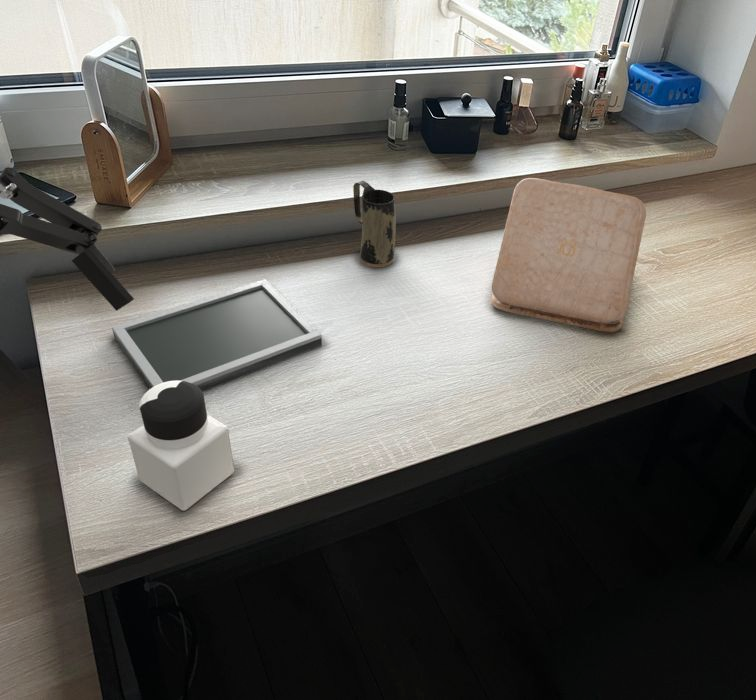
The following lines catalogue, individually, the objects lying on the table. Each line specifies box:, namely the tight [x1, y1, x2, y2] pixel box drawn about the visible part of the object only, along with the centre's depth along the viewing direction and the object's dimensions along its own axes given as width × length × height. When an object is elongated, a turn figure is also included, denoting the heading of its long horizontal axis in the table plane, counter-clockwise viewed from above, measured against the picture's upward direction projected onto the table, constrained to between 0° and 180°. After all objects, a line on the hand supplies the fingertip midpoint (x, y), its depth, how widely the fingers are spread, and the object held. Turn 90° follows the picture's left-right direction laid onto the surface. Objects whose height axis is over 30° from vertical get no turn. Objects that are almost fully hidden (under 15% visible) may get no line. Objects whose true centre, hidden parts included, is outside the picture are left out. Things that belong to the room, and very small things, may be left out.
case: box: [491, 177, 647, 333], centre depth 111 cm, size 20×21×16 cm
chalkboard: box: [111, 278, 323, 393], centre depth 97 cm, size 22×16×2 cm
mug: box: [352, 180, 397, 268], centre depth 115 cm, size 8×6×12 cm
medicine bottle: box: [127, 381, 235, 512], centre depth 75 cm, size 7×7×12 cm
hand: (76, 342), depth 70 cm, fingers open, 13 cm apart
